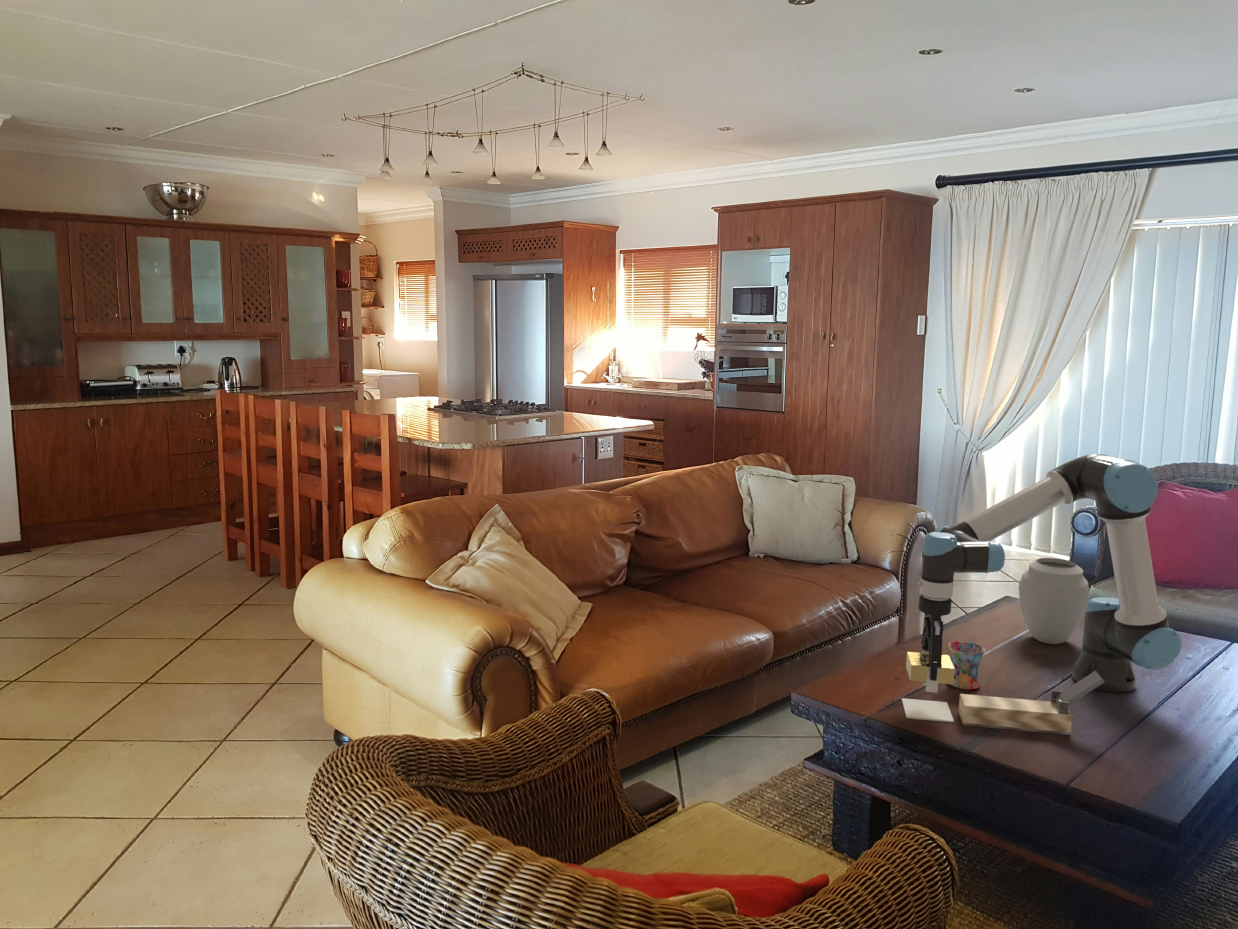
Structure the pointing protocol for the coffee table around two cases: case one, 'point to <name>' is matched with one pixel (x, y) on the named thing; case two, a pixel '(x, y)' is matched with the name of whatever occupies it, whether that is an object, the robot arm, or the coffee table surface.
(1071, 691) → the lever
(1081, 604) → the vase
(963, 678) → the mug
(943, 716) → the felt pad
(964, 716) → the body
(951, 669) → the yellow block with knob
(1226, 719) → the coffee table surface
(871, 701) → the coffee table surface
